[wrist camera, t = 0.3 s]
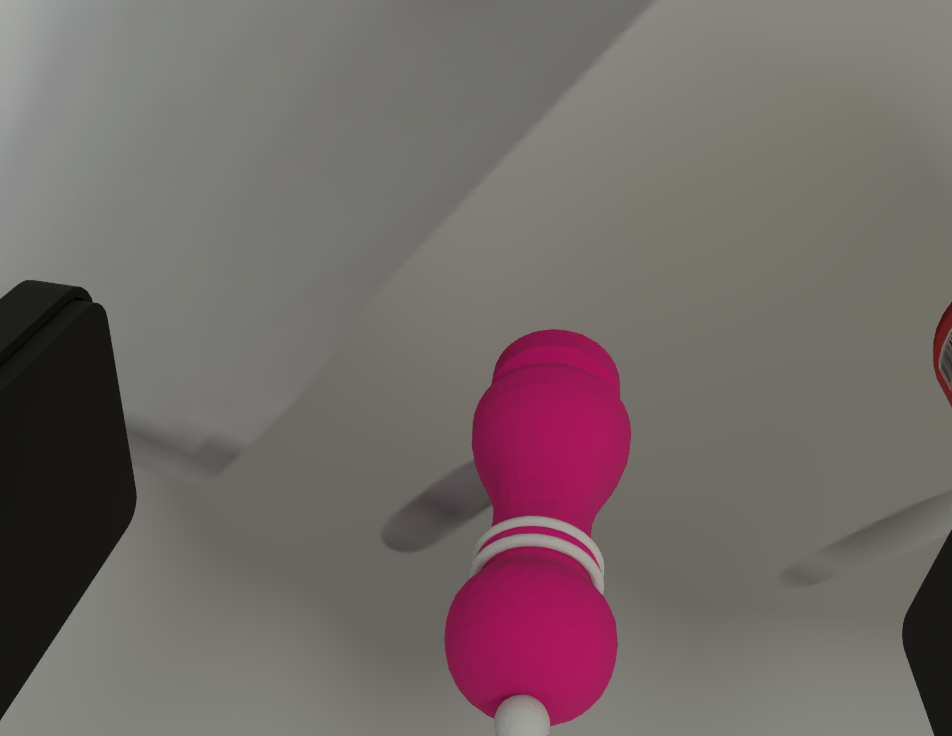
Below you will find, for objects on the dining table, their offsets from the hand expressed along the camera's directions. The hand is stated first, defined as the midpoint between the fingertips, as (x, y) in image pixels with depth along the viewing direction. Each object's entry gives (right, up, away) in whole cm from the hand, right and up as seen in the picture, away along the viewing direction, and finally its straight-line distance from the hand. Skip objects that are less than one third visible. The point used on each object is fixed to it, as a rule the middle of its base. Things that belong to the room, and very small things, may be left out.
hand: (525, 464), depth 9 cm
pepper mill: (+3, 0, +34) cm, 34 cm away
